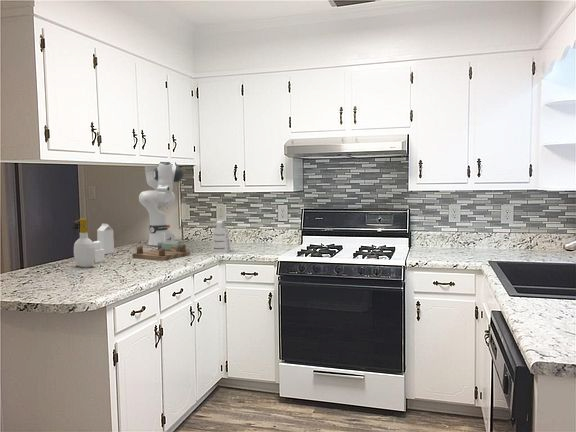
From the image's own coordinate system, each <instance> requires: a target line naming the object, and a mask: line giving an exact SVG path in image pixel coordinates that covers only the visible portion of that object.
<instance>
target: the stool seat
mask: <svg viewBox="0 0 576 432" xmlns="http://www.w3.org/2000/svg"><path fill="white" fill-rule="evenodd" d="M131 255H132V259H139V260H141V259H143V260H148V259H149V260H150V261H159V262H160V261H161V262H165V261H169V260H173V259H177V258H183V257H188V256H190V255H191V251H190V250H187V245H186V244H180V251H178V247H175V246H172V247H171V250H165V248H160V249H158V248H157V249H151V250H150V249H149V250H146V251H145V250H144V246H141V245H140V246H136V252H135V253H131ZM164 260H165V261H164Z"/></svg>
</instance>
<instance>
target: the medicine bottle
mask: <svg viewBox="0 0 576 432" xmlns="http://www.w3.org/2000/svg"><path fill="white" fill-rule="evenodd" d="M91 241H92V242H93V243H94V246H95V259H94V263H93V264H98V263H103V262H106V260H105V259H106V258H105V256H106V254H105V253H104V249H100V248H101V242H100V241H98V240H91Z"/></svg>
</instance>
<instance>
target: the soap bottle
mask: <svg viewBox="0 0 576 432" xmlns="http://www.w3.org/2000/svg"><path fill="white" fill-rule="evenodd" d="M87 220H88V219H87V218H79V219H78V220H76V221H75V223H77V222H79V224H80V226H79V238H78V239H77V240H75V242H74V245H73V257H74V261H75V263H76V265H77V266H78V267H81V268H91V267H92V266H93V265H94V264H95V263H94V259H95V246H94V243H93V242H92V241H93V240H92V239H90V238H89V233H88V226H87Z"/></svg>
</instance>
